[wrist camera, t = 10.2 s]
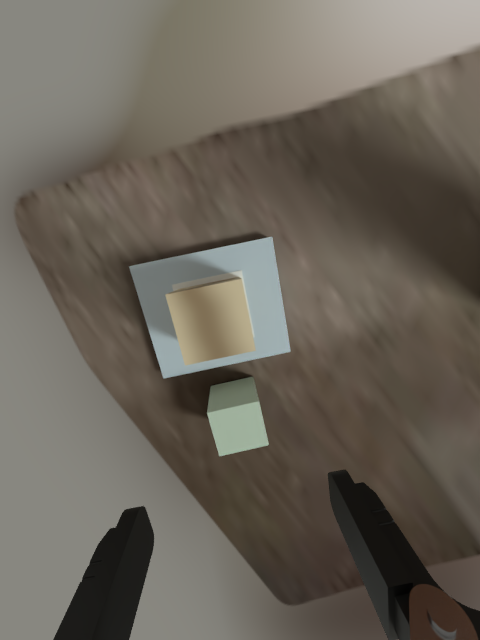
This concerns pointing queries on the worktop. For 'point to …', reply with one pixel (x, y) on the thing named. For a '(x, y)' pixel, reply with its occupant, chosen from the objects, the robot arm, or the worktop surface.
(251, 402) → the sage block
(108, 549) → the robot arm
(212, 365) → the board
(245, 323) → the maple block
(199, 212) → the worktop surface
